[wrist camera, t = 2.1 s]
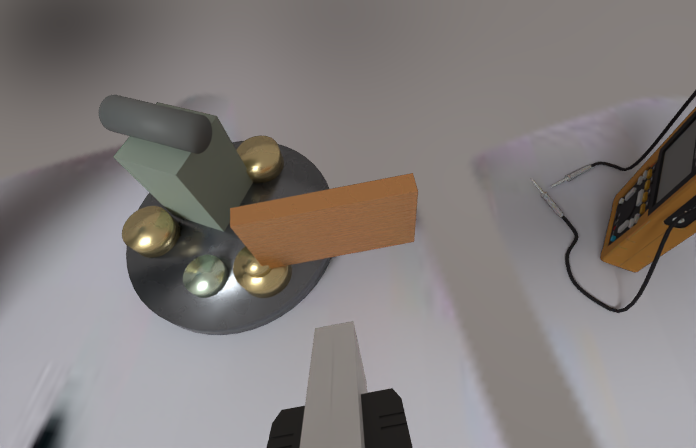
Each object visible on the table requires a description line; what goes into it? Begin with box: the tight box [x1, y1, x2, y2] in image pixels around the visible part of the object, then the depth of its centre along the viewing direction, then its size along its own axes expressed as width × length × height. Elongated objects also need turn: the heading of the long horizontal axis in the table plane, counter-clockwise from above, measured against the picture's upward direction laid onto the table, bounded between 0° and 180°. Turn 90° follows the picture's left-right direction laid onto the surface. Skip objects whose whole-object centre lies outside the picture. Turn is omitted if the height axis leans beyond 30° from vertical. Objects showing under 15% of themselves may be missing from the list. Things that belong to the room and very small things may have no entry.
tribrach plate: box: [122, 136, 331, 335], centre depth 36 cm, size 20×20×4 cm
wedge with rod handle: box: [99, 95, 253, 232], centre depth 33 cm, size 8×6×12 cm
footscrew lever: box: [230, 173, 418, 298], centre depth 29 cm, size 15×4×10 cm, turn 99°
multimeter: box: [531, 90, 696, 313], centre depth 26 cm, size 15×10×20 cm
